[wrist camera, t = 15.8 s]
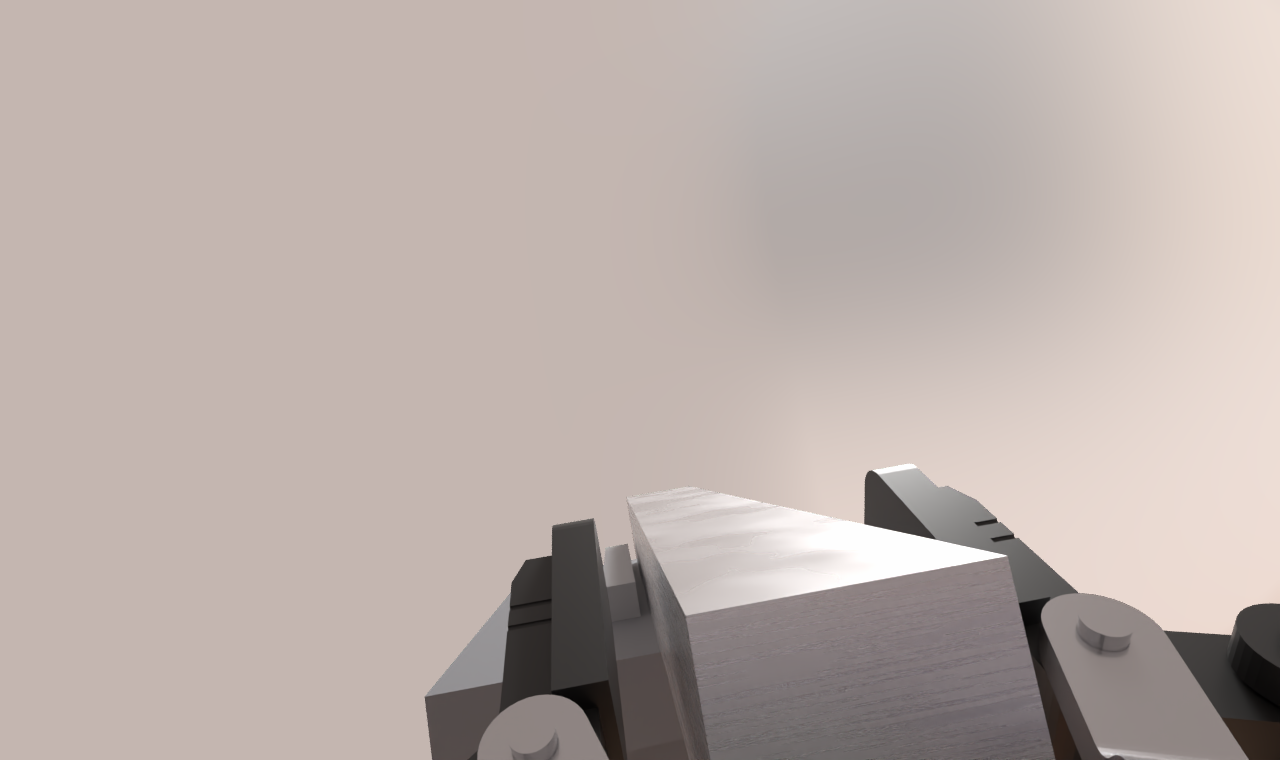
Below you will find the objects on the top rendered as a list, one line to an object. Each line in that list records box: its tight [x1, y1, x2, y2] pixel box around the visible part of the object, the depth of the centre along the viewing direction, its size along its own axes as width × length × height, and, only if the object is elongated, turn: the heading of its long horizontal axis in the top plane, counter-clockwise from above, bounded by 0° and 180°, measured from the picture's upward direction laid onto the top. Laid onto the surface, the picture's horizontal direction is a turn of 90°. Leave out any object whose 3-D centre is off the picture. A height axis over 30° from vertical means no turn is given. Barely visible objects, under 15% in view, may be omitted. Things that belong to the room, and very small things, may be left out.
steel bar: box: [627, 486, 1055, 760], centre depth 18 cm, size 25×3×3 cm, turn 2°
